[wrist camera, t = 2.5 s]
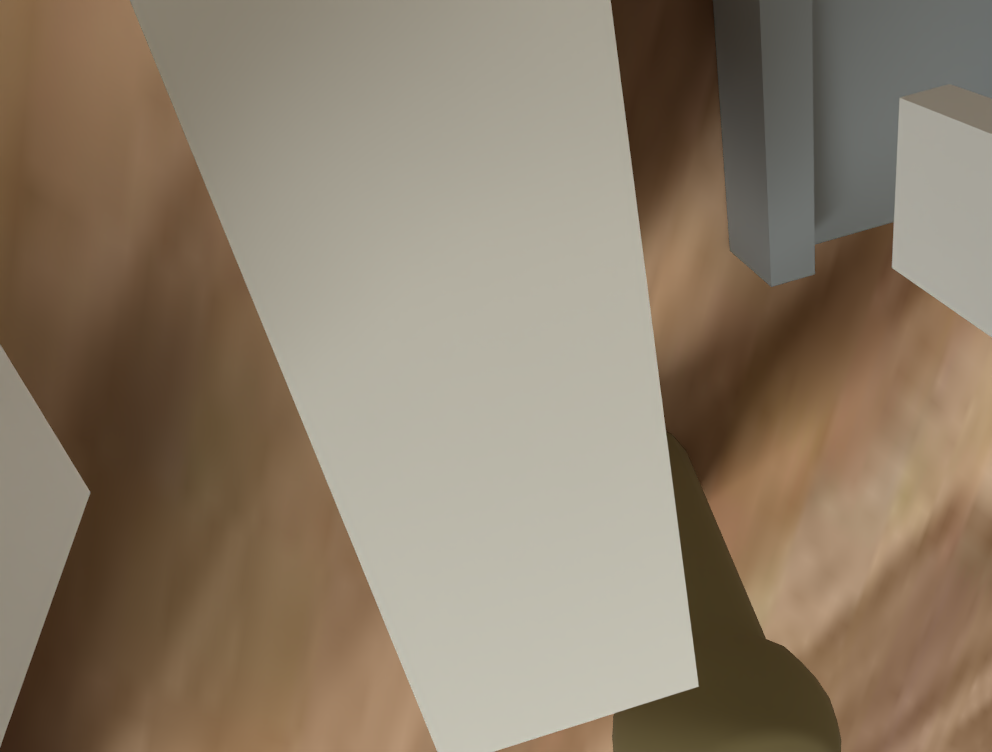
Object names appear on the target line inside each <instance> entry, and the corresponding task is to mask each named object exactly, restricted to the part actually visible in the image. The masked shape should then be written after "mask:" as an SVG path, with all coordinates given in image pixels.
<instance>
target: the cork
mask: <svg viewBox="0 0 992 752" xmlns="http://www.w3.org/2000/svg"><path fill="white" fill-rule="evenodd" d="M666 436H667V443H668V451H669V459H670V467H671V474H672V482H673V490H674V498H675V506H676V513H677V521H678V529H679V537H680V544H681V552H682V560H683V568H684V576H685V583H686V591H687V599H688V607H689V615H690V622H691V630H692V638H693V646H694V653H695V661H696V669H697V677H698V685H699V687H696V688H693V689H689V690H686V691H683V692H680V693H677V694H674V695H670V696H667V697H664V698H661V699H658V700H655V701H652V702H648V703H645V704H642V705H639V706H636V707H633V708H630V709H626V710H623V711H620V712H617V713H615V714H614V716H613V734H612V740H613V752H841V737H840V732H839V728H838V723H837V719H836V716H835V713H834V710H833V707H832V704H831V701H830V698H829V697H828V695H827V694H826V692H825V691H824V689H823V688H822V686H821V685H820V683H819V682H818V680H817V679H816V677H815V676H814V675H813V674H812V673H811V672H810V671H809V670H808V669H807V668H806V667H805V666H804V665H803V663H802V662H801V661H799V660H798V659H797V658H796V657H795V656H794V655H793V654H792V653H791V652H790V651H789V650H787V649H786V648H785V647H784V646H782V645H779V644H777V643H774V642H772V641H769V640H767V639H766V638H765V636H764V633H763V631H762V628H761V626H760V624H759V621H758V619H757V617H756V614H755V612H754V610H753V607H752V605H751V603H750V600H749V598H748V595H747V593H746V591H745V588H744V586H743V584H742V581H741V579H740V577H739V574H738V572H737V570H736V567H735V565H734V562H733V560H732V558H731V555H730V553H729V551H728V548H727V546H726V544H725V541H724V539H723V537H722V534H721V532H720V529H719V527H718V525H717V522H716V520H715V518H714V515H713V513H712V511H711V508H710V506H709V504H708V501H707V499H706V496H705V494H704V492H703V489H702V487H701V485H700V482H699V480H698V478H697V475H696V473H695V471H694V468H693V466H692V463H691V461H690V459H689V456H688V454H687V452H686V451H685V449H684V448H683V447H682V446H681V445H680V444H679V442H678V441H677V440H676V439H675V438H674V436H673V435H672V434H670V433H668V432H666Z"/></svg>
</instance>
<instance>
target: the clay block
mask: <svg viewBox="0 0 992 752" xmlns="http://www.w3.org/2000/svg"><path fill="white" fill-rule="evenodd" d="M130 2H131V4H132V7H133V9H134V11H135V14H136V16H137V19H138V21H139V24H140V26H141V29H142V31H143V33H144V36H145V38H146V41H147V43H148V46H149V48H150V51H151V53H152V55H153V58H154V60H155V63H156V65H157V68H158V70H159V73H160V75H161V77H162V80H163V82H164V85H165V87H166V90H167V92H168V95H169V97H170V99H171V102H172V104H173V107H174V109H175V112H176V114H177V117H178V119H179V121H180V124H181V126H182V129H183V131H184V134H185V136H186V139H187V141H188V143H189V146H190V148H191V151H192V153H193V156H194V158H195V160H196V163H197V165H198V168H199V170H200V173H201V175H202V178H203V180H204V182H205V185H206V187H207V190H208V192H209V195H210V197H211V200H212V202H213V204H214V207H215V209H216V212H217V214H218V217H219V219H220V222H221V224H222V226H223V229H224V231H225V234H226V236H227V239H228V241H229V244H230V246H231V248H232V251H233V253H234V256H235V258H236V261H237V263H238V266H239V268H240V270H241V273H242V275H243V278H244V280H245V283H246V285H247V288H248V290H249V292H250V295H251V297H252V300H253V302H254V305H255V307H256V310H257V312H258V314H259V317H260V319H261V322H262V324H263V327H264V329H265V332H266V334H267V336H268V339H269V341H270V344H271V346H272V349H273V351H274V354H275V356H276V358H277V361H278V363H279V366H280V368H281V371H282V373H283V376H284V378H285V380H286V383H287V385H288V388H289V390H290V393H291V395H292V397H293V400H294V402H295V405H296V407H297V410H298V412H299V415H300V417H301V419H302V422H303V424H304V427H305V429H306V432H307V434H308V437H309V439H310V441H311V444H312V446H313V449H314V451H315V454H316V456H317V459H318V461H319V463H320V466H321V468H322V471H323V473H324V476H325V478H326V481H327V483H328V485H329V488H330V490H331V493H332V495H333V498H334V500H335V503H336V505H337V507H338V510H339V512H340V515H341V517H342V520H343V522H344V525H345V527H346V529H347V532H348V534H349V537H350V539H351V542H352V544H353V547H354V549H355V551H356V554H357V556H358V559H359V561H360V564H361V566H362V569H363V571H364V573H365V576H366V578H367V581H368V583H369V586H370V588H371V591H372V593H373V595H374V598H375V600H376V603H377V605H378V608H379V610H380V613H381V615H382V617H383V620H384V622H385V625H386V627H387V630H388V632H389V634H390V637H391V639H392V642H393V644H394V647H395V649H396V652H397V654H398V656H399V659H400V661H401V664H402V666H403V669H404V671H405V674H406V676H407V678H408V681H409V683H410V686H411V688H412V691H413V693H414V696H415V698H416V700H417V703H418V705H419V708H420V710H421V713H422V715H423V718H424V720H425V722H426V725H427V727H428V730H429V732H430V735H431V737H432V740H433V742H434V744H435V747H436V749H437V752H494V751H497V750H500V749H503V748H507V747H510V746H513V745H516V744H519V743H522V742H525V741H529V740H532V739H535V738H538V737H541V736H544V735H548V734H551V733H554V732H557V731H560V730H563V729H566V728H570V727H573V726H576V725H579V724H582V723H585V722H589V721H592V720H595V719H598V718H601V717H604V716H607V715H611V714H614V713H617V712H620V711H623V710H626V709H630V708H633V707H636V706H639V705H642V704H645V703H648V702H652V701H655V700H658V699H661V698H664V697H667V696H670V695H674V694H677V693H680V692H683V691H686V690H689V689H693V688H696V687H699V685H698V677H697V669H696V661H695V653H694V646H693V638H692V630H691V622H690V615H689V607H688V599H687V591H686V583H685V576H684V568H683V560H682V552H681V544H680V537H679V529H678V521H677V513H676V506H675V498H674V490H673V482H672V474H671V467H670V459H669V451H668V443H667V436H666V428H665V420H664V412H663V404H662V397H661V389H660V381H659V373H658V365H657V358H656V350H655V342H654V334H653V327H652V319H651V311H650V303H649V295H648V288H647V280H646V272H645V264H644V257H643V249H642V241H641V233H640V225H639V218H638V210H637V202H636V194H635V186H634V179H633V171H632V163H631V155H630V148H629V140H628V132H627V124H626V116H625V109H624V101H623V93H622V85H621V77H620V70H619V62H618V54H617V46H616V39H615V31H614V23H613V15H612V7H611V0H130Z"/></svg>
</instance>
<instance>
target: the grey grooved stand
mask: <svg viewBox="0 0 992 752" xmlns="http://www.w3.org/2000/svg"><path fill="white" fill-rule="evenodd" d="M713 11H714V26H715V40H716V55H717V69H718V84H719V99H720V113H721V128H722V142H723V157H724V172H725V186H726V201H727V215H728V230H729V244H730V251H731V252H732V253H733V254H734V255H735V256H736V257H738V258H739V259H740V260H741V261H742V262H743V263H744V264H746V265H747V266H748V267H749V268H750V269H751V270H753V271H754V272H755V273H756V274H757V275H758V276H759V277H761V278H762V279H763V280H764V281H765V282H766V283H767V284H769V285H770V286H771V287H773V286H776V285H780V284H783V283H787V282H790V281H793V280H797V279H800V278H804V277H807V276H811V275H814V274H815V244H819V243H822V242H826V241H829V240H833V239H836V238H839V237H843V236H846V235H850V234H853V233H857V232H860V231H864V230H867V229H871V228H874V227H878V226H881V225H885V224H888V223H892V222H894V209H895V187H896V165H897V143H898V121H899V99H900V97H904V96H907V95H911V94H915V93H918V92H922V91H926V90H930V89H933V88H937V87H941V86H944V85H948V84H951V85H954V86H957V87H959V88H962V89H965V90H968V91H971V92H974V93H977V94H980V95H983V96H986V97H988V98H991V99H992V0H713Z"/></svg>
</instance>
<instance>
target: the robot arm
mask: <svg viewBox="0 0 992 752" xmlns="http://www.w3.org/2000/svg"><path fill="white" fill-rule="evenodd" d="M892 268H893V269H894V270H896V271H897V272H899V273H900V274H901V275H903V276H904V277H906V278H907V279H909V280H910V281H912V282H913V283H914V284H916V285H917V286H919V287H920V288H922V289H923V290H924V291H926V292H927V293H929V294H930V295H932V296H933V297H935V298H936V299H937V300H939V301H940V302H942V303H943V304H945V305H946V306H947V307H949V308H950V309H952V310H953V311H955V312H956V313H957V314H959V315H960V316H962V317H963V318H965V319H966V320H968V321H969V322H970V323H972V324H973V325H975V326H976V327H978V328H979V329H980V330H982V331H983V332H985V333H986V334H988V335H989V336H991V337H992V99H991V98H988V97H986V96H983V95H980V94H977V93H974V92H971V91H968V90H965V89H962V88H959V87H957V86H954V85H951V84H948V85H944V86H941V87H937V88H933V89H930V90H926V91H922V92H918V93H915V94H911V95H907V96H904V97H900V99H899V121H898V143H897V165H896V187H895V209H894V231H893V254H892ZM89 495H90V491H89V489H88V487H87V486H86V484H85V483H84V481H83V479H82V478H81V476H80V474H79V473H78V471H77V469H76V468H75V466H74V465H73V463H72V461H71V460H70V458H69V456H68V455H67V453H66V451H65V450H64V448H63V446H62V445H61V443H60V442H59V440H58V438H57V437H56V435H55V433H54V432H53V430H52V428H51V427H50V425H49V424H48V422H47V420H46V419H45V417H44V415H43V414H42V412H41V410H40V409H39V407H38V406H37V404H36V402H35V401H34V399H33V397H32V396H31V394H30V392H29V391H28V389H27V387H26V386H25V384H24V383H23V381H22V379H21V378H20V376H19V374H18V373H17V371H16V369H15V368H14V366H13V365H12V363H11V361H10V360H9V358H8V356H7V355H6V353H5V351H4V350H3V348H2V346H1V345H0V746H1V743H2V740H3V738H4V735H5V732H6V729H7V726H8V723H9V721H10V718H11V715H12V712H13V709H14V707H15V704H16V701H17V698H18V695H19V692H20V690H21V687H22V684H23V681H24V678H25V676H26V673H27V670H28V667H29V664H30V661H31V659H32V656H33V653H34V650H35V647H36V645H37V642H38V639H39V636H40V633H41V630H42V628H43V625H44V622H45V619H46V616H47V614H48V611H49V608H50V605H51V602H52V599H53V597H54V594H55V591H56V588H57V585H58V583H59V580H60V577H61V574H62V571H63V568H64V566H65V563H66V560H67V557H68V554H69V552H70V549H71V546H72V543H73V540H74V537H75V535H76V532H77V529H78V526H79V523H80V521H81V518H82V515H83V512H84V509H85V506H86V504H87V501H88V498H89Z"/></svg>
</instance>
